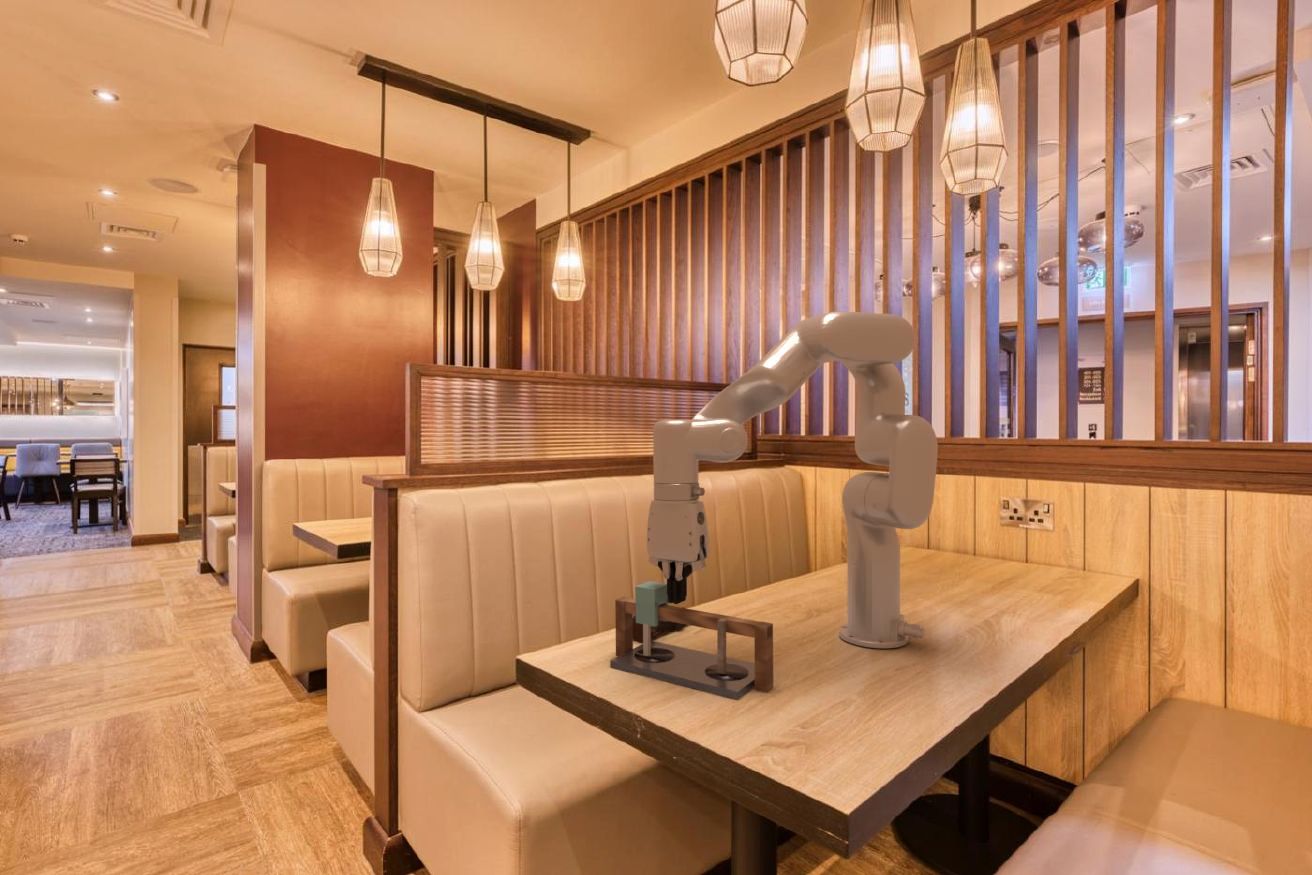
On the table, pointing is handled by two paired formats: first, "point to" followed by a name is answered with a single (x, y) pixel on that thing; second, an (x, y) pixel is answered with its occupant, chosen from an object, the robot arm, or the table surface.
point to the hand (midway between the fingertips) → (676, 601)
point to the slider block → (649, 608)
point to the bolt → (653, 628)
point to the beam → (710, 621)
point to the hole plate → (689, 669)
